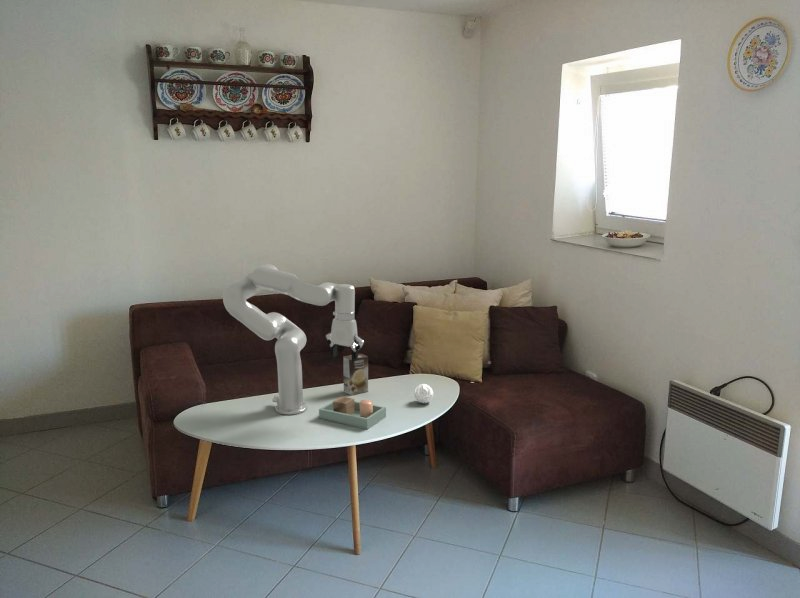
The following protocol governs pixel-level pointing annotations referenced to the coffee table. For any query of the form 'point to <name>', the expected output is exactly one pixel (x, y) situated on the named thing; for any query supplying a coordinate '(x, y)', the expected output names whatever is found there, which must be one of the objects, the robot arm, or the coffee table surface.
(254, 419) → the coffee table surface
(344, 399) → the walnut block
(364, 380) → the coffee box
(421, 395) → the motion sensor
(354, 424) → the tote
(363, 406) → the terracotta cylinder
